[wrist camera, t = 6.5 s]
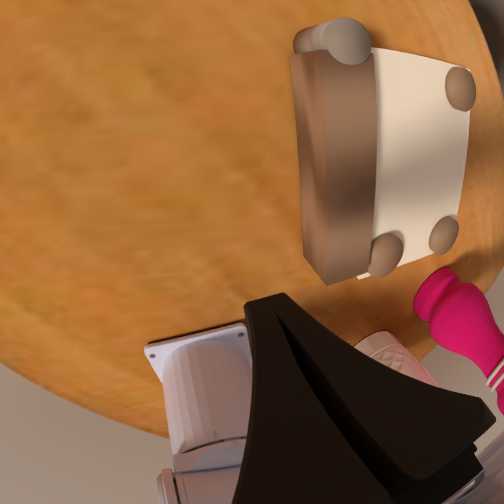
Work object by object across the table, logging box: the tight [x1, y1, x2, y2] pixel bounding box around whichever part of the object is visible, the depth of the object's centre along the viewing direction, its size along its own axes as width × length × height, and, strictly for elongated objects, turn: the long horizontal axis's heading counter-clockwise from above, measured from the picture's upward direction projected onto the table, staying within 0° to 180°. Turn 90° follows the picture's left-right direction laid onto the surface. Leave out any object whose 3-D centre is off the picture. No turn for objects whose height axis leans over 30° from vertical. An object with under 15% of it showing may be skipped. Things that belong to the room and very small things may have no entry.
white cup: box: [354, 331, 441, 388], centre depth 26 cm, size 8×8×10 cm
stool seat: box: [356, 47, 476, 279], centre depth 18 cm, size 15×10×3 cm, turn 6°
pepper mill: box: [413, 268, 504, 415], centre depth 20 cm, size 7×7×20 cm
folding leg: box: [289, 17, 377, 286], centre depth 15 cm, size 15×3×4 cm, turn 7°
